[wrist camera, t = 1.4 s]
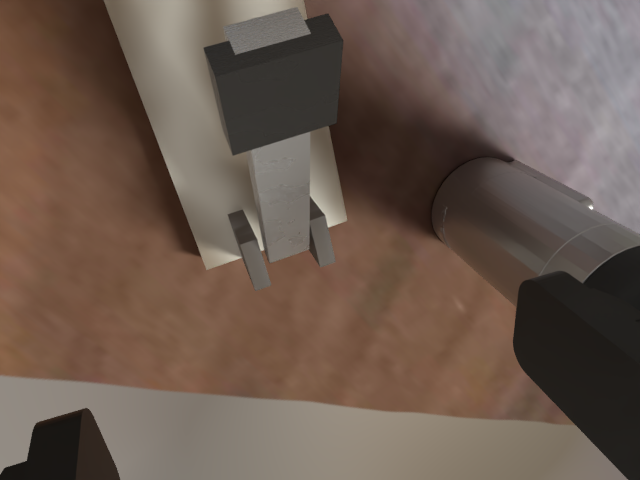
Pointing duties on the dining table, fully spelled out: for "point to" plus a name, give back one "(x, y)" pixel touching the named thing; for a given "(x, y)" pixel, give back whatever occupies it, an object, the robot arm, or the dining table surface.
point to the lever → (277, 112)
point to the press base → (213, 127)
